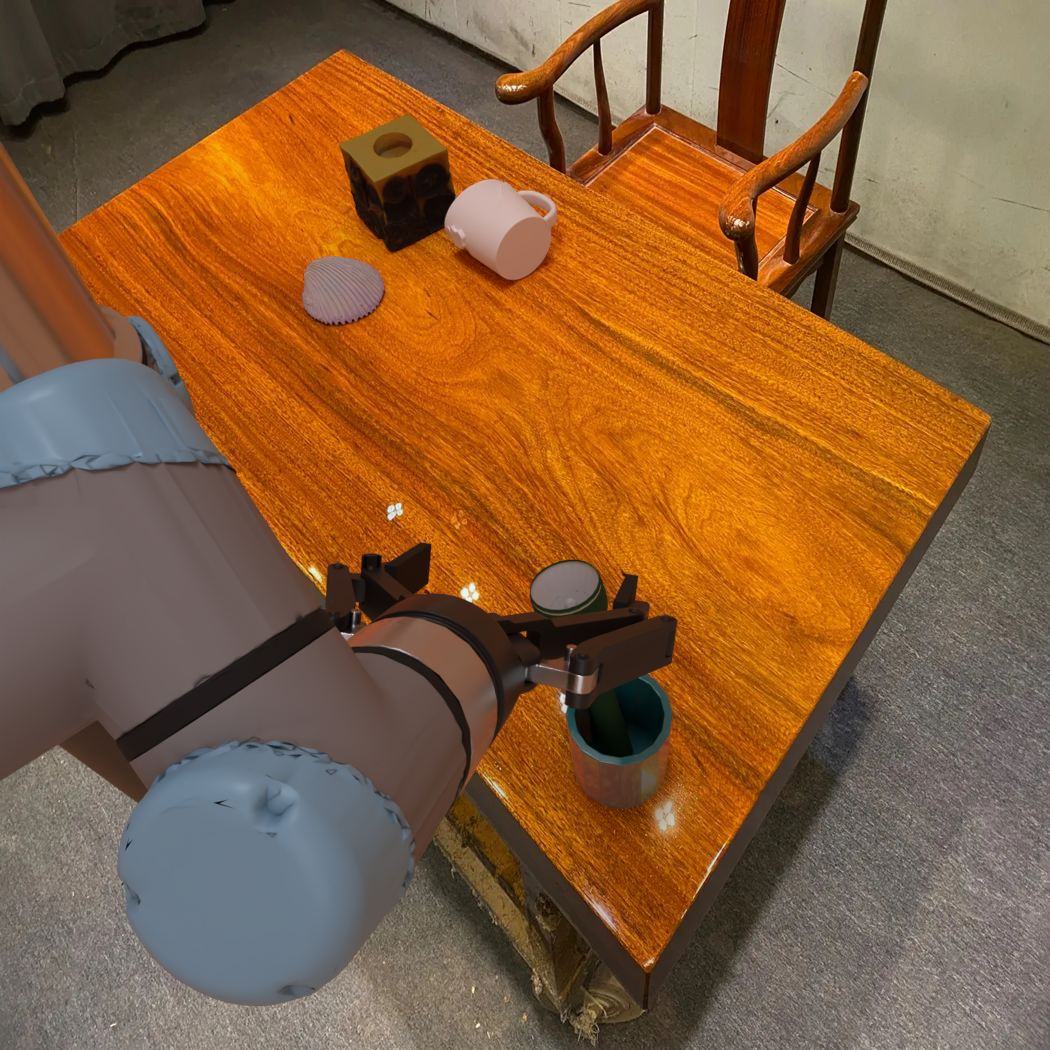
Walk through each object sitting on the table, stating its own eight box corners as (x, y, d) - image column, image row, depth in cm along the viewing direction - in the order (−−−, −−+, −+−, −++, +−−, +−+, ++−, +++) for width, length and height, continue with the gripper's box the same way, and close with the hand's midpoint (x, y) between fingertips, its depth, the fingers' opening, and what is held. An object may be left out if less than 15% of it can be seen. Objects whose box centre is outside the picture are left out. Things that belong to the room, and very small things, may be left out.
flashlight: (581, 779, 74) (515, 606, 62) (603, 728, 78) (544, 554, 65) (641, 793, 72) (585, 616, 60) (661, 740, 75) (612, 561, 63)
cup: (608, 827, 73) (605, 785, 65) (555, 750, 77) (546, 701, 69) (686, 774, 75) (693, 727, 66) (630, 701, 79) (631, 648, 70)
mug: (494, 295, 108) (485, 239, 102) (449, 255, 113) (438, 200, 106) (575, 248, 112) (572, 191, 105) (528, 212, 116) (522, 155, 110)
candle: (391, 254, 114) (373, 184, 106) (354, 214, 119) (334, 144, 111) (462, 220, 117) (449, 149, 108) (422, 182, 122) (408, 111, 114)
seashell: (326, 234, 112) (387, 242, 107) (344, 272, 116) (403, 282, 111) (271, 284, 108) (331, 296, 102) (292, 322, 112) (351, 335, 106)
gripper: (152, 726, 43) (340, 603, 63) (698, 839, 38) (712, 666, 58) (154, 569, 41) (347, 495, 62) (725, 666, 36) (729, 550, 57)
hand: (525, 578), depth 60 cm, fingers open, 13 cm apart
